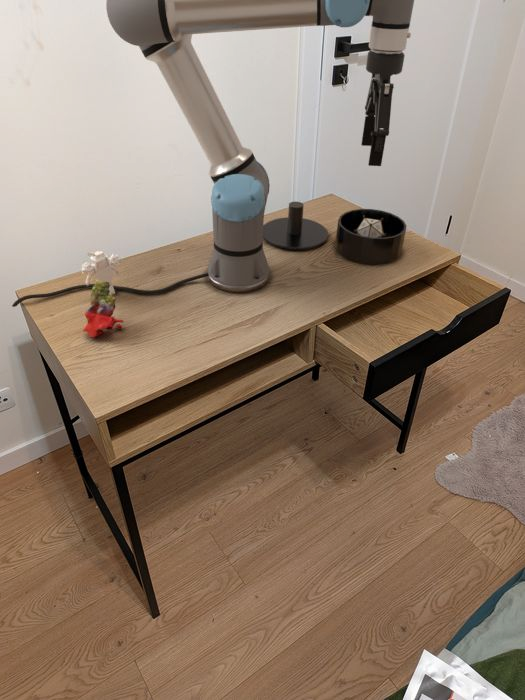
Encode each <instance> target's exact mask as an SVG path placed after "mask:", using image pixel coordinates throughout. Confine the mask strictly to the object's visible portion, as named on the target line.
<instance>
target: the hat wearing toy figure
mask: <svg viewBox="0 0 525 700" xmlns="http://www.w3.org/2000/svg"><path fill="white" fill-rule="evenodd" d="M86 255H87V257H89V259H90V260H91V261H92V263H91V262H87V261H86V262H83V264H82V265H81V273H82V275H85V273H86V274H87V276H86V279H85V284H87V286H88V285H89V284H91V283H92V281H93V278H94V275H95V278H96V282H97V281H103V282H108V283H109V285H110V287H109V291H110V292H109V294H108V296H110V295H111V293H113V295H115V294H116V290H115V289H114V288H113V286H114V285H113V282H112V279H113V278H112V277H113V275H116V276H117V277H118V278H120V276H121V272H120V270H119V269H118V268H117V267H119V266H121V265H120V264H121V263H122V258H121V257H119V254H114V253H112V254H111V256H110V257H109V256H108V255H107V254H106V253H105V252H104V251H101V250H97V251H92V252H88V253H87V254H86ZM108 257H109V258H108Z"/></svg>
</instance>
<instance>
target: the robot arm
mask: <svg viewBox="0 0 525 700" xmlns="http://www.w3.org/2000/svg"><path fill="white" fill-rule="evenodd" d="M105 2H106V5H105V7H106V15H107V18H108V22H109V24H110V25H111V28H112V29H113V31H114V32H115V34H117V35H118V37H119V38H120V39H121V40H123V41H124V42H126V43H127V44H130V45H133V46H135V47H138V48H139V49H140V51H141V53H142V55H143V57H144V58H145V60H147V61H149V62H153V63H155V64H156V65H157V67H158V70H159V71H160V73H161V75H162V76H163V78H164V80H165V83H166V84H167V86H168V88H169V89H170V92H171V93H172V96H173V97H174V99H175V101H176V102H177V104H178V106H179V109H180V110H181V112H182V114H183V115H184V117H185V120H186V121H187V123H188V125H189V127H190V128H191V130H192V132H193V134H194V136H195V138H196V140H197V142H198V143H199V146H200V147H201V149H202V150H203V152H204V154H205V156H206V158H207V160H208V161H209V162H208V163H209V164H210V169H209V172H208V175H209V177H210V179H211V181H212V183H213V186H212V189H211V195H210V203H211V211H212V213H211V214H212V234H213V235H212V236H213V237H212V238H213V249H212V253H211V255H210V259H209V263H208V265H207V268H206V269H207V270H206V272H203V273H200V274H198V275H194V276H191V277H188V278H184V279H181V280H179V281H176V282H175V283H172V284H170V285H168V286H166V287H162V288H159V289H151V290H149V289H147V290H145V289H137V288H133V287H128V286H118V285H113V288H114V291H125V292H129V293H130V292H131V293H136V294H141V295H155V294H161V293H165V292H168V291H170V290H173V289H174V288H177V287H179V286H181V285H183V284H184V285H185V284H188V283H190V282H193V281H196V280H199V279H202V278H206V277H207V281H208V282H209V283H210V284H211V286H213V287H215V288H216V289H218V290H221V291H224V292H228V293H235V294H237V293H248V292H253V291H257V290H259V289H261V288H263V287H264V286H265V285H266V284H267V283H268V282H269V280H270V273H271V272H270V271H271V270H270V266H269V263H268V260H267V256H266V254H265V251H264V239H263V226H264V220H265V212H266V206H267V201H268V197H269V193H270V186H271V185H270V178H269V175H268V172H267V170H266V168H265V167H264V165H262V163H260V162H259V161H258V160H257V159H256V156H255V155H254V153H253V151H252V149H250V148H248V147H244V146H243V145H242V143H241V141H240V139H239V136H238V135H237V133H236V131H235V129H234V126H233V124H232V123H231V120H230V119H229V116H228V115H227V113H226V110H225V109H224V106H223V104H222V102H221V101H220V99H219V96H218V94H217V92H216V90H215V88H214V86H213V84H212V82H211V80H210V78H209V76H208V74H207V72H206V70H205V68H204V66H203V64H202V62H201V60H200V58H199V56H198V53H197V52H196V50H195V47H194V46H193V44H192V38H193V35H200V34H215V33H229V32H232V33H233V32H244V31H259V30H273V29H274V30H275V29H276V30H277V29H287V28H288V29H289V28H305V27H318V26H319V27H325V26H336V27H339V28H351V27H354V26H356V25H358V24H359V23H360V22H361V21H362V20H363V19H364V18H365V17H372V21H371V25H370V31H369V32H370V34H369V41H368V48H369V49H370V50H369V51H368V52H367V57H366V65H365V70H366V72H368V73H370V74H371V79H370V82H369V83H370V84H369V87H368V93H367V96H366V97H367V98H366V102H365V105H364V110H365V112H364V113H365V117H364V124H363V131H362V138H361V146H362V147H363V146H365V147H370V152H369V158H368V166H369V167H381V166H382V164H383V163H382V162H383V156H384V150H385V145H386V138H387V137H389V134H390V126H391V125H390V124H391V112H392V101H393V92H394V91H393V90H394V88H395V85H394V83H391V77H392V76H396V75H399V74H401V73H402V71H403V67H404V61H405V53H404V52H403V51H405V50H406V48H407V42H408V40H407V39H410V38H411V36H412V34H411V33H412V32H409V31H410V26H411V21H412V15H413V9H414V5H415V4H414V3H415V0H106V1H105ZM95 284H96V283H89V285H88V286H87V284H86V283H85V284H79V285H74V286H73V285H72V286H71V287H66V288H64V289H59V290H56V291H52V292H47V293H35V294H27V295H23V296H20V297H19V298H18V299H16V300H15V301H14V302H13V304H12V305H11V307H13V308H15V307H17V306H18V305H20V303H22V302H24V301H26V300H30V299H31V300H32V299H40V298H41V299H42V298H50V297H54V296H58V295H62V294H65V293H68V292H71V291H76V290H81V289H90V288H91V289H92V288H93V286H94V285H95Z"/></svg>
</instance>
